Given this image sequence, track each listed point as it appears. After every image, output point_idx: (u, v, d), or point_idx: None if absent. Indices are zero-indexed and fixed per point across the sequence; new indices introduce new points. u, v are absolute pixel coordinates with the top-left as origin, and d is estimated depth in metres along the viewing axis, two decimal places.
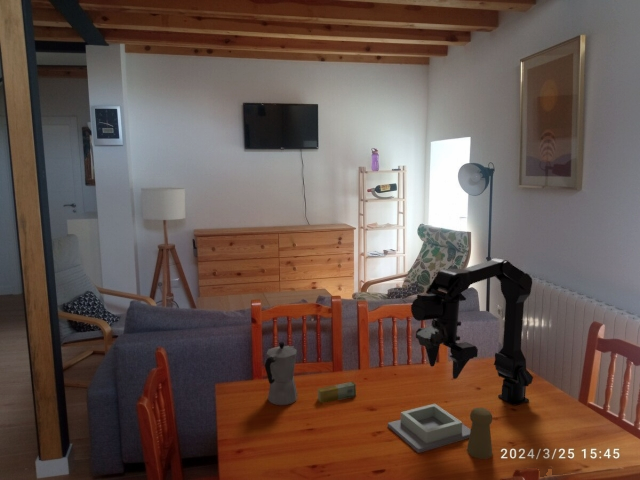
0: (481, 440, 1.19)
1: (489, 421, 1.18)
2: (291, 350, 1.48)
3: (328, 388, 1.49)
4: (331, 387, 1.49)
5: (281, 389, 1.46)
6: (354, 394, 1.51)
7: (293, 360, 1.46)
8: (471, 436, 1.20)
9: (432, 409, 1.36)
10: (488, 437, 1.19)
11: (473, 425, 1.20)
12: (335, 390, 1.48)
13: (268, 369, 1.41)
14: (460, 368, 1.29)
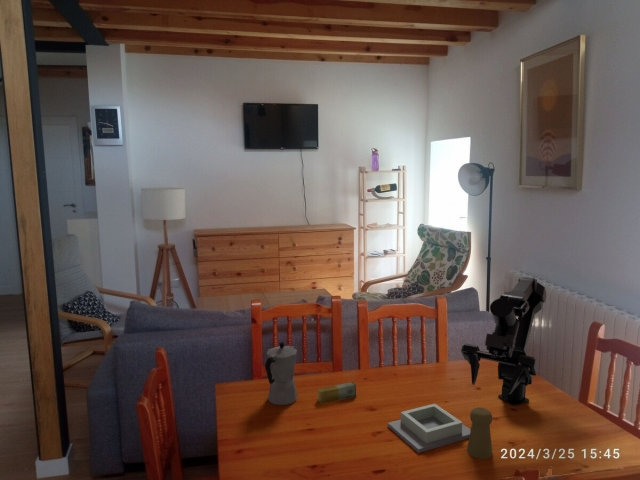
0: (481, 440, 1.19)
1: (489, 421, 1.18)
2: (291, 350, 1.48)
3: (328, 388, 1.49)
4: (331, 387, 1.49)
5: (281, 389, 1.46)
6: (354, 394, 1.51)
7: (293, 360, 1.46)
8: (471, 436, 1.20)
9: (432, 409, 1.36)
10: (488, 437, 1.19)
11: (473, 425, 1.20)
12: (335, 390, 1.48)
13: (268, 369, 1.41)
14: (516, 384, 1.25)
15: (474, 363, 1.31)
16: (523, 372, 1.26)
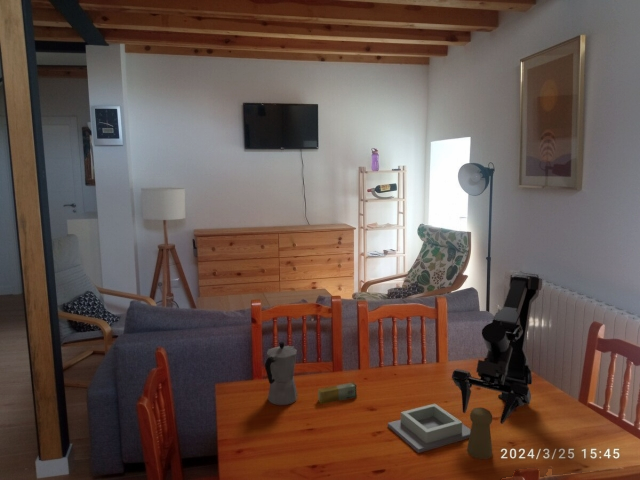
0: (481, 440, 1.19)
1: (489, 421, 1.18)
2: (291, 350, 1.48)
3: (329, 389, 1.48)
4: (332, 388, 1.49)
5: (281, 389, 1.46)
6: (355, 395, 1.51)
7: (293, 360, 1.46)
8: (471, 436, 1.20)
9: (432, 409, 1.36)
10: (488, 437, 1.19)
11: (473, 425, 1.20)
12: (336, 391, 1.48)
13: (268, 369, 1.41)
14: (509, 413, 1.20)
15: (465, 390, 1.25)
16: (516, 401, 1.20)
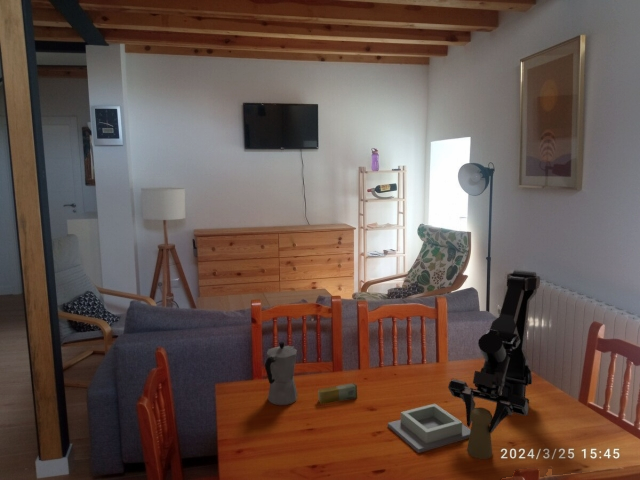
0: (481, 440, 1.19)
1: (489, 421, 1.18)
2: (291, 350, 1.48)
3: (329, 389, 1.48)
4: (332, 388, 1.49)
5: (281, 389, 1.46)
6: (355, 395, 1.50)
7: (293, 360, 1.46)
8: (471, 436, 1.20)
9: (432, 409, 1.36)
10: (488, 437, 1.19)
11: (473, 425, 1.20)
12: (336, 391, 1.48)
13: (268, 369, 1.41)
14: (498, 422, 1.19)
15: (469, 403, 1.23)
16: (505, 410, 1.20)
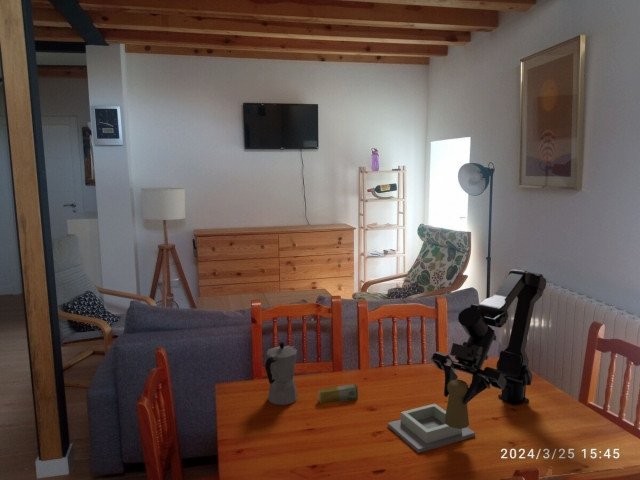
0: (456, 410, 1.22)
1: (464, 392, 1.21)
2: (291, 350, 1.48)
3: (329, 389, 1.48)
4: (332, 388, 1.48)
5: (281, 389, 1.46)
6: (356, 396, 1.49)
7: (293, 360, 1.46)
8: (447, 406, 1.24)
9: (432, 409, 1.36)
10: (463, 408, 1.22)
11: (449, 395, 1.23)
12: (336, 392, 1.47)
13: (268, 369, 1.41)
14: (473, 394, 1.22)
15: (448, 374, 1.26)
16: (482, 383, 1.22)
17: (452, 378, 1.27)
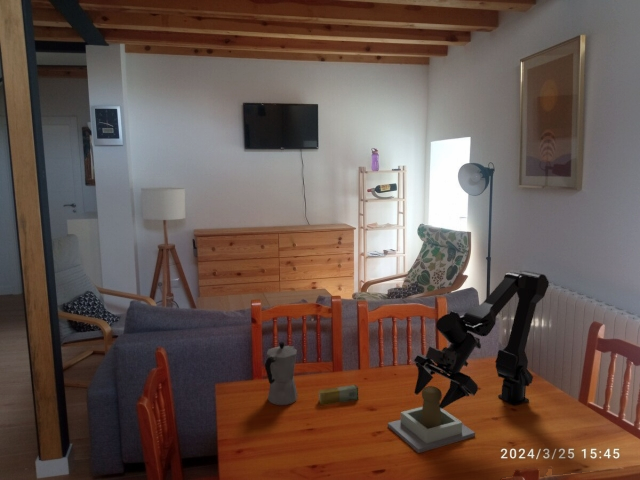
0: (427, 415, 1.28)
1: (435, 399, 1.27)
2: (291, 350, 1.48)
3: (329, 390, 1.47)
4: (333, 389, 1.48)
5: (281, 389, 1.46)
6: (356, 397, 1.49)
7: (293, 360, 1.46)
8: (422, 411, 1.31)
9: None
10: (435, 414, 1.28)
11: (423, 401, 1.30)
12: (336, 392, 1.47)
13: (268, 369, 1.41)
14: (451, 400, 1.25)
15: (421, 374, 1.34)
16: (460, 390, 1.25)
17: (425, 378, 1.35)
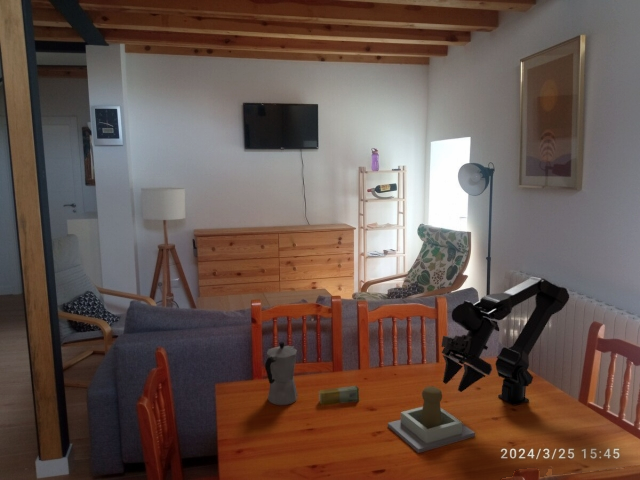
0: (428, 415, 1.28)
1: (435, 399, 1.27)
2: (291, 350, 1.48)
3: (330, 390, 1.47)
4: (333, 390, 1.48)
5: (281, 389, 1.46)
6: (357, 398, 1.48)
7: (293, 360, 1.46)
8: (422, 411, 1.31)
9: None
10: (435, 414, 1.28)
11: (424, 401, 1.30)
12: (337, 393, 1.47)
13: (268, 369, 1.41)
14: (468, 382, 1.31)
15: (447, 364, 1.42)
16: (475, 371, 1.31)
17: (452, 367, 1.42)
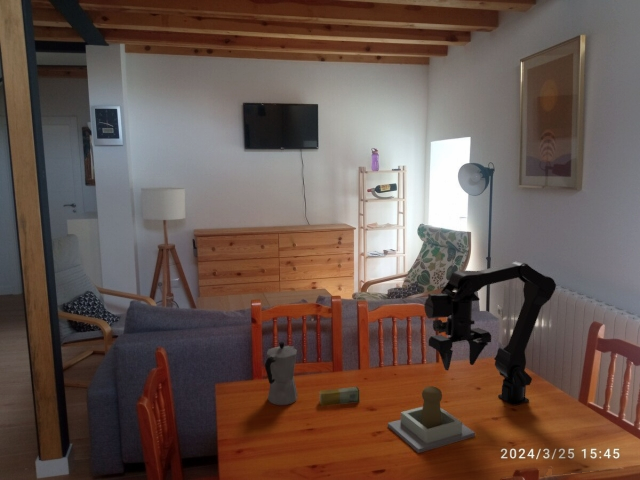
0: (427, 415, 1.28)
1: (435, 399, 1.27)
2: (291, 350, 1.48)
3: (330, 391, 1.47)
4: (333, 390, 1.47)
5: (281, 389, 1.46)
6: (357, 400, 1.48)
7: (293, 360, 1.46)
8: (422, 411, 1.31)
9: None
10: (435, 414, 1.28)
11: None
12: (337, 394, 1.46)
13: (268, 369, 1.41)
14: (445, 361, 1.40)
15: None
16: None
17: (473, 348, 1.44)
